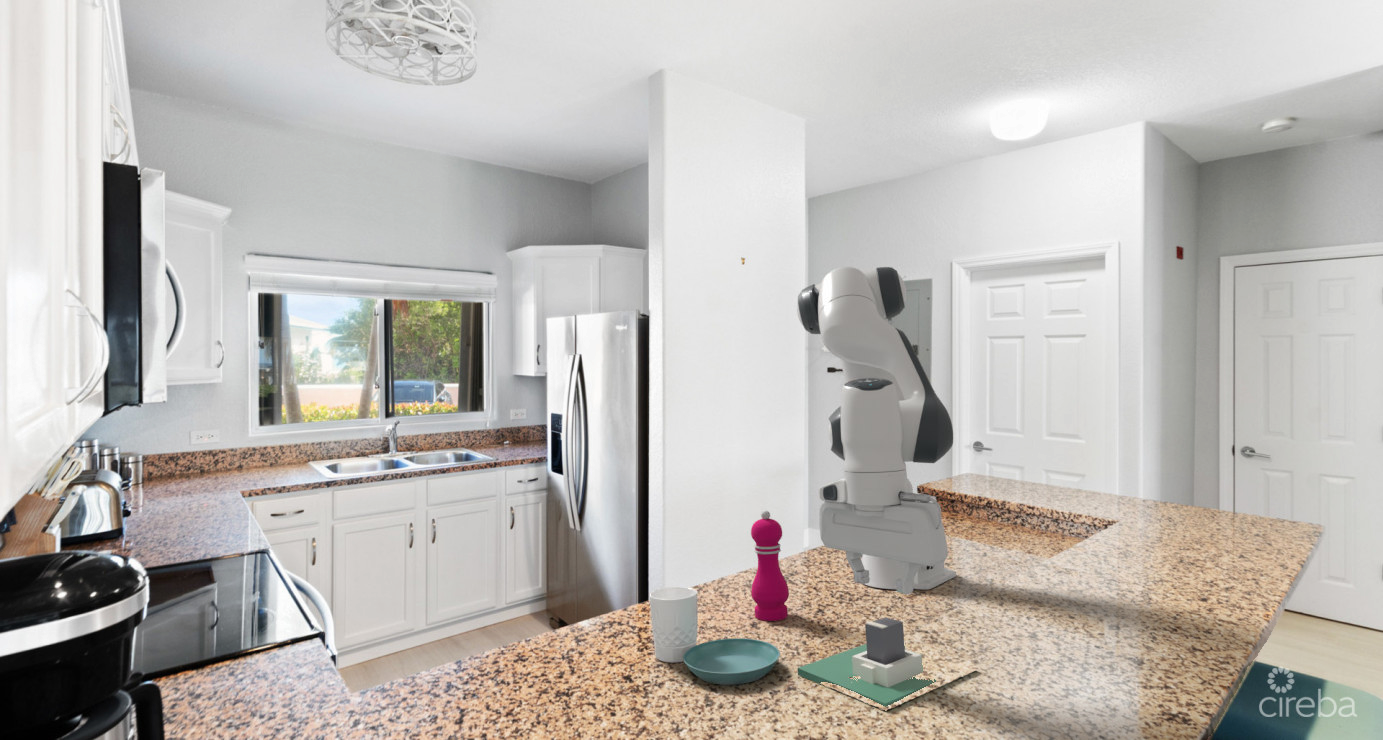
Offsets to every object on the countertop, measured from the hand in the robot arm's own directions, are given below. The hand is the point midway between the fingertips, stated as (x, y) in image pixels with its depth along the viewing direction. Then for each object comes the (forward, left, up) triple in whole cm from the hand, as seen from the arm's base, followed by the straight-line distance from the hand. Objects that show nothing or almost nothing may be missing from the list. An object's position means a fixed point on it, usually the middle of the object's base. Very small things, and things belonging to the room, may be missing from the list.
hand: (882, 587), depth 93 cm
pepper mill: (-8, -34, -13) cm, 37 cm away
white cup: (+17, -29, -13) cm, 36 cm away
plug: (0, 0, -12) cm, 12 cm away
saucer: (+14, -18, -13) cm, 27 cm away
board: (-2, -2, -13) cm, 13 cm away
